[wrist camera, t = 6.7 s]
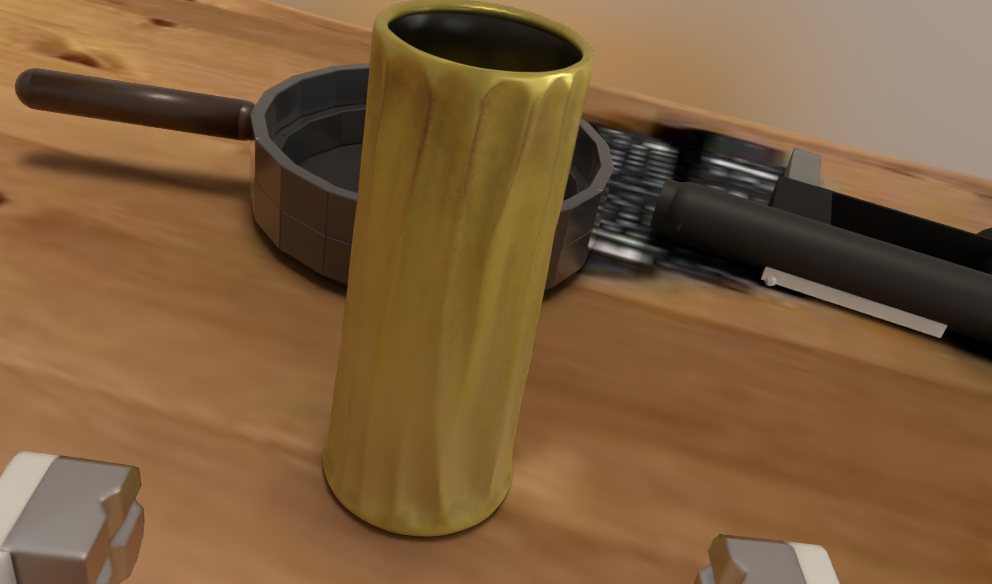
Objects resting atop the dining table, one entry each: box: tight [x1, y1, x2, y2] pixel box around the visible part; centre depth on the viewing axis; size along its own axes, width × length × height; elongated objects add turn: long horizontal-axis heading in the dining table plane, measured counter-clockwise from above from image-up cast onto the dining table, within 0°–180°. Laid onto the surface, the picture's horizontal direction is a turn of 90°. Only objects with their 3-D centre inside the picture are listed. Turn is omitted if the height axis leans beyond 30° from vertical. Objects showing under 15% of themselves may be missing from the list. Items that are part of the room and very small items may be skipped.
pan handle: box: [15, 68, 255, 141], centre depth 39 cm, size 11×2×2 cm, turn 90°
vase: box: [323, 0, 594, 536], centre depth 24 cm, size 6×6×14 cm
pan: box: [250, 63, 614, 290], centre depth 40 cm, size 16×16×4 cm
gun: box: [651, 148, 992, 344], centre depth 45 cm, size 3×20×16 cm
